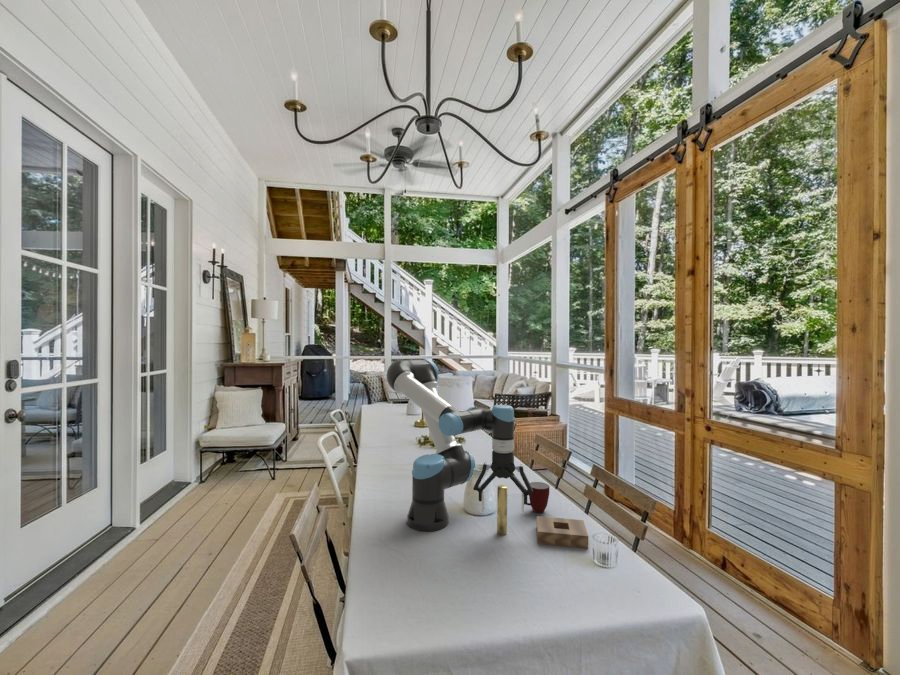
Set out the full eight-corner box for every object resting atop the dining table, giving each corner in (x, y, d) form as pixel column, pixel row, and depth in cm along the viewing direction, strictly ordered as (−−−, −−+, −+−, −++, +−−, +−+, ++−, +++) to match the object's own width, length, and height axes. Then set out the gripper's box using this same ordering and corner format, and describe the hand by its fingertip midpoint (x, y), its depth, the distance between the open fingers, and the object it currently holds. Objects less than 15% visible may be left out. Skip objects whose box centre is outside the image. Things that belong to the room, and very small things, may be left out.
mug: (528, 517, 158) (529, 490, 158) (518, 508, 166) (519, 483, 166) (553, 513, 162) (553, 487, 161) (542, 505, 169) (542, 480, 169)
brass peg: (496, 534, 144) (497, 488, 144) (497, 530, 147) (497, 484, 147) (506, 535, 143) (507, 489, 143) (506, 531, 147) (507, 485, 146)
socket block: (537, 543, 138) (537, 531, 138) (536, 527, 150) (536, 516, 150) (588, 548, 135) (588, 536, 135) (583, 531, 147) (583, 520, 147)
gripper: (465, 451, 144) (465, 513, 143) (540, 455, 139) (540, 519, 139) (468, 446, 151) (468, 505, 151) (539, 449, 147) (539, 510, 146)
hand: (502, 512), depth 145 cm, fingers open, 13 cm apart
